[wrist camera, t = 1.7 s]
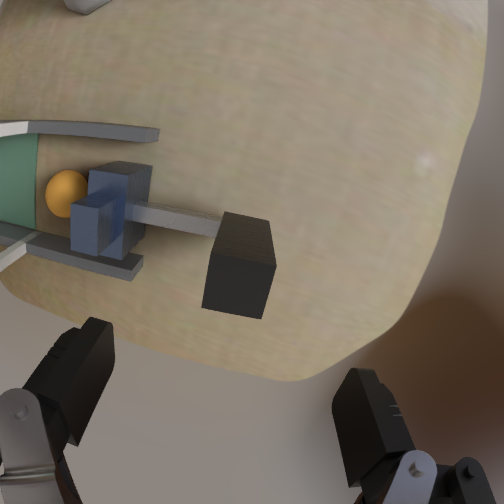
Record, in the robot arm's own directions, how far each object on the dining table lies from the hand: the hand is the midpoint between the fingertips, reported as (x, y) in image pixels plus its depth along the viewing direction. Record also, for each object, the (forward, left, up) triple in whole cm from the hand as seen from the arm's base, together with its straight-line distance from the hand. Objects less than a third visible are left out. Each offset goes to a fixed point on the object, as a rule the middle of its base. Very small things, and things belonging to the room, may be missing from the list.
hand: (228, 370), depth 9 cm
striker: (0, -5, -16) cm, 17 cm away
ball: (0, -15, -14) cm, 21 cm away
